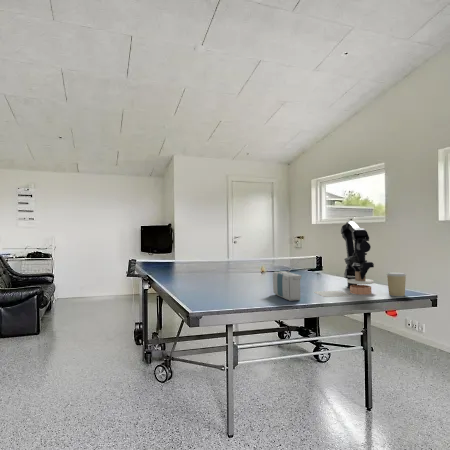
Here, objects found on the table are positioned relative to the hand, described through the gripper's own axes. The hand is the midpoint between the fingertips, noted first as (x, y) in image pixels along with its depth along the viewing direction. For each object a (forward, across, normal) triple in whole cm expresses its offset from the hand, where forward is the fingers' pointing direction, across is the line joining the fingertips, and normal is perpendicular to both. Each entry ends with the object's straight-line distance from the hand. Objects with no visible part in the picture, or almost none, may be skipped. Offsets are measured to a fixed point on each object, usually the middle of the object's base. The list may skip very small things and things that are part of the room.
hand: (360, 278), depth 197 cm
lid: (+2, 0, 0) cm, 2 cm away
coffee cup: (+8, +9, +16) cm, 20 cm away
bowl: (+8, 0, 0) cm, 8 cm away
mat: (+8, 0, -17) cm, 19 cm away
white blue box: (+8, +3, -44) cm, 45 cm away
